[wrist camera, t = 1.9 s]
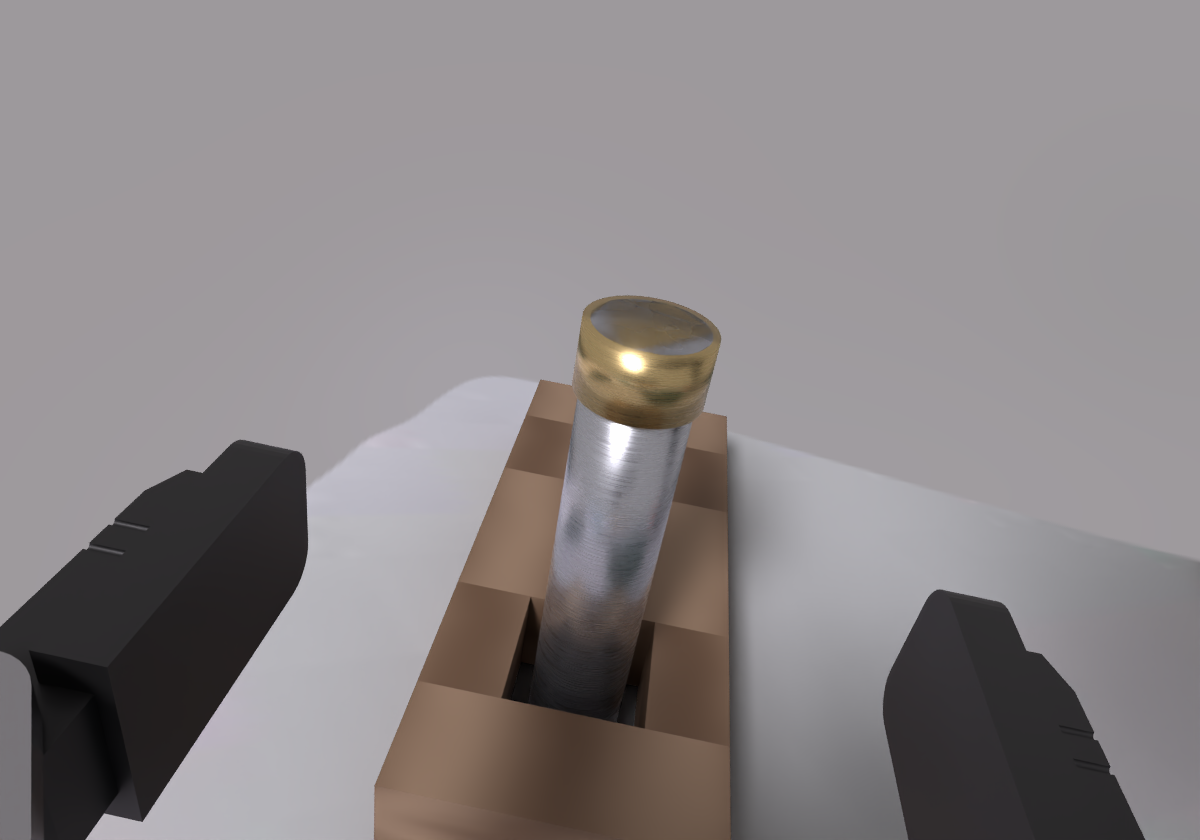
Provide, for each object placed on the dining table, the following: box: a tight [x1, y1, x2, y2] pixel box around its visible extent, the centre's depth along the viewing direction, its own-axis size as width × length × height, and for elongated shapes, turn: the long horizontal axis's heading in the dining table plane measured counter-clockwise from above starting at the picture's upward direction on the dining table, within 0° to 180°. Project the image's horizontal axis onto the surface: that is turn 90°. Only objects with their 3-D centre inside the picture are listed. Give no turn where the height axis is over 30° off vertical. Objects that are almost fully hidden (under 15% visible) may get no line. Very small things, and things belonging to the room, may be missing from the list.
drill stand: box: [374, 380, 731, 840], centre depth 33 cm, size 10×24×4 cm, turn 172°
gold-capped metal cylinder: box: [528, 296, 721, 722], centre depth 25 cm, size 4×4×16 cm
